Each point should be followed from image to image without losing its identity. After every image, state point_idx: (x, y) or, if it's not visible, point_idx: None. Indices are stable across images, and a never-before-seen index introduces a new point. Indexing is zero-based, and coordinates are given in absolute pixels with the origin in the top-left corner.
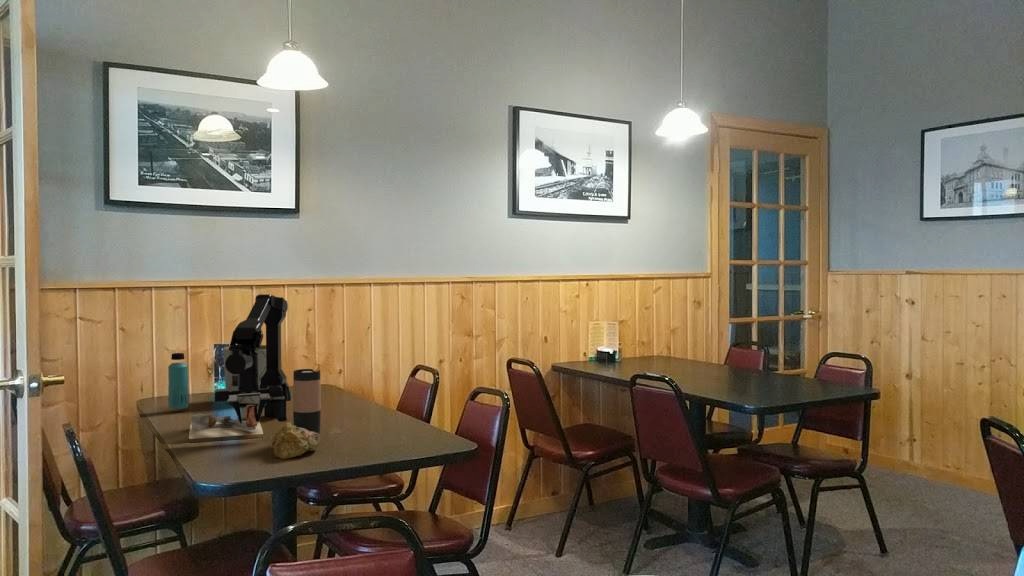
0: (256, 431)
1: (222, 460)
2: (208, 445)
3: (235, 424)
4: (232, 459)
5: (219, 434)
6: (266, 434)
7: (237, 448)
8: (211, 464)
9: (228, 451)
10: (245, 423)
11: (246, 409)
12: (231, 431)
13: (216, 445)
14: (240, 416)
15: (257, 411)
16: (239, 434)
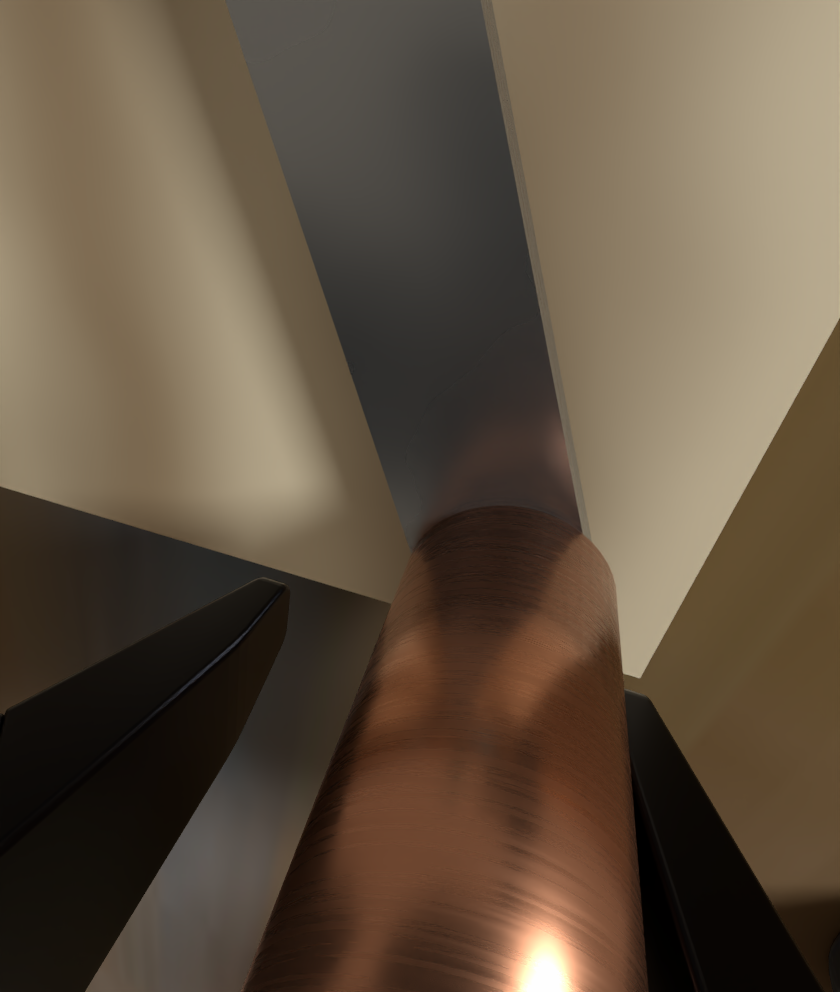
0: (629, 469)
1: (149, 960)
2: (6, 595)
3: (257, 49)
4: (204, 977)
5: (37, 349)
6: (814, 442)
7: (259, 821)
8: (97, 974)
9: (186, 846)
10: (473, 252)
11: (265, 945)
12: (220, 204)
13: (82, 638)
14: (179, 804)
15: (663, 910)
16: (318, 520)
